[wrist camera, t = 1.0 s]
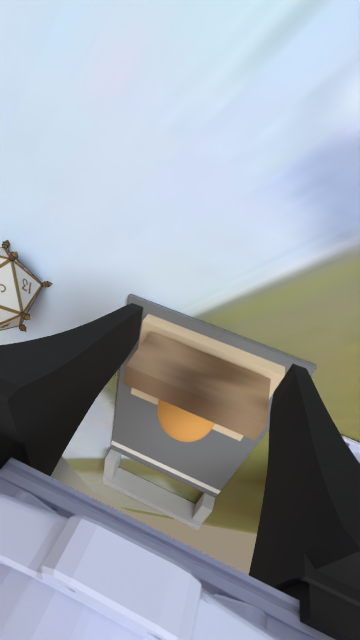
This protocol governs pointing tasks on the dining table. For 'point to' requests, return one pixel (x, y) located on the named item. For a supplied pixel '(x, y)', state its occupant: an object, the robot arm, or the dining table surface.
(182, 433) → the ball
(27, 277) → the game die
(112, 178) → the dining table surface
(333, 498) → the robot arm
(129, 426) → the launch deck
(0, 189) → the dining table surface
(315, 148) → the dining table surface
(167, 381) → the pusher bar
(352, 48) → the dining table surface
